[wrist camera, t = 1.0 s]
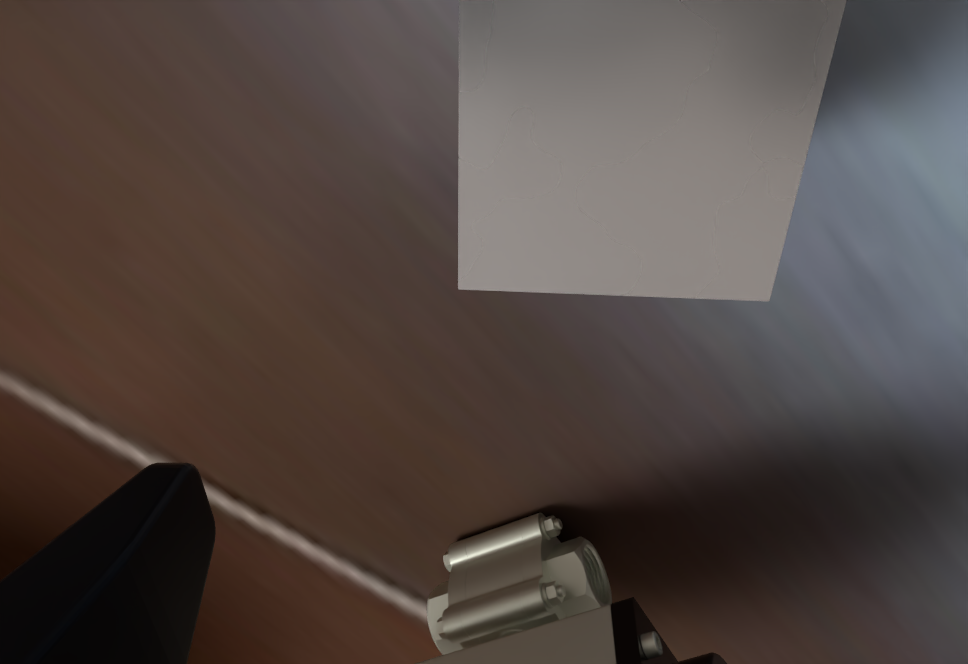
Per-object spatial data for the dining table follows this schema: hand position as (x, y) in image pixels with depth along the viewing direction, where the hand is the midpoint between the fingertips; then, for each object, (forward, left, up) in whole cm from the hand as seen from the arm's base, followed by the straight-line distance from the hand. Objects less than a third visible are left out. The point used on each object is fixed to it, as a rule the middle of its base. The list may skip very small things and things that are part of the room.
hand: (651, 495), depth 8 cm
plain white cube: (-1, -1, -12) cm, 12 cm away
